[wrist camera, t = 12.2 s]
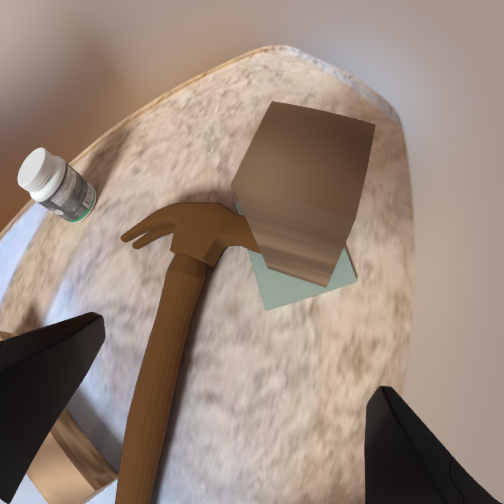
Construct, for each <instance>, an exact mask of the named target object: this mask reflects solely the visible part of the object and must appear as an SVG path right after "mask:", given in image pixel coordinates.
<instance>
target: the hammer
mask: <svg viewBox="0 0 504 504" xmlns="http://www.w3.org/2000/svg"><path fill="white" fill-rule="evenodd" d="M150 230H151V231H150ZM148 231H149V232H148ZM146 232H148V233H147V234H145V235H144V236H143V237H141V238H140V239H138V240H137V241H135V242H134V243H133V244H132V247H133V248H135V249H140V248H142V247H144V246H145V245H147V244H149V243H151V242H152V241H154V240H156V239H158V238H161V237H163V236H165V235H168V234H171V233H174V234H173V239H172V243H171V248H170V251H171V252H173V253H174V254H176V255H175V256H174V258H173V260H172V262H171V263H170V265H169V267H168V269H167V272H166V277H165V281H164V286H163V290H162V295H161V299H160V303H159V307H158V312H157V315H156V319H155V322H154V325H153V328H152V331H151V335H150V338H149V341H148V345H147V348H146V351H145V355H144V358H143V362H142V365H141V369H140V372H139V376H138V380H137V383H136V387H135V391H134V395H133V399H132V403H131V406H130V411H129V415H128V419H127V424H126V430H125V436H124V442H123V448H122V454H121V461H120V468H119V475H118V483H117V491H116V500H115V504H150V501H151V496H152V492H153V487H154V482H155V478H156V473H157V469H158V464H159V460H160V456H161V451H162V447H163V443H164V438H165V434H166V430H167V425H168V420H169V415H170V410H171V405H172V400H173V395H174V390H175V385H176V381H177V376H178V371H179V367H180V362H181V358H182V353H183V349H184V344H185V340H186V336H187V331H188V327H189V323H190V320H191V317H192V314H193V311H194V308H195V305H196V303H197V300H198V297H199V294H200V292H201V289H202V287H203V284H204V281H205V269H206V266H208V267H214V265H215V263H216V262H217V260H218V258H219V257H220V255H221V254H222V252H223V250H224V249H225V248H226V247H228V246H243V247H245V248H247V249H249V250H251V251H253V252H256V253H260V254H261V252H260V249H259V247H258V245H257V242H256V240H255V238H254V236H253V233H252V231H251V229H250V226H249V224H248V222H247V220H246V217H245V215H239V214H236V213H234V212H232V211H231V210H230V209H228V208H227V207H226V206H224V205H222V204H220V203H177V204H171V205H168V206H166V207H164V208H161V209H159V210H157V211H155V212H154V213H152V214H151V215H149V216H148V217H147V218H145V219H144V220H142V221H141V222H140V223H138V224H137V225H135V226H134V227H133V228H131V229H130V230H129V231H127V232H126V233H125V234H123V235H122V236H121V240H122V241H123V242H129V241H131V240H133V239H134V238H136V237H138V236H140V235H142V234H144V233H146Z"/></svg>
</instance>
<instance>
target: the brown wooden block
mask: <svg viewBox="0 0 504 504" xmlns="http://www.w3.org/2000/svg"><path fill="white" fill-rule="evenodd" d="M374 130H375V124H371V123H368V122H364V121H361V120H357V119H354V118H350V117H346V116H342V115H338V114H334V113H330V112H325V111H321V110H316V109H312V108H307V107H302V106H297V105H291V104H286V103H280V102H274V101H272V102H271V104H270V106H269V108H268V110H267V112H266V114H265V116H264V118H263V120H262V122H261V124H260V126H259V128H258V130H257V132H256V134H255V136H254V138H253V140H252V142H251V144H250V146H249V148H248V150H247V152H246V154H245V156H244V158H243V160H242V162H241V165H240V167H239V169H238V171H237V173H236V175H235V177H234V179H233V182H232V184H231V186H232V188H233V190H234V192H235V195H236V197H237V199H238V201H239V204H240V206H241V208H242V211H243V213H244V215H245V217H246V220H247V222H248V224H249V226H250V229H251V231H252V233H253V236H254V238H255V240H256V242H257V245H258V247H259V249H260V252H261V254H262V256H263V258H264V261H265V263H266V265H267V268H268V269H270V270H273V271H277V272H280V273H283V274H286V275H289V276H292V277H295V278H298V279H301V280H304V281H307V282H310V283H313V284H316V285H319V286H322V287H325V288H326V287H327V285H328V283H329V281H330V278H331V276H332V274H333V272H334V269H335V267H336V265H337V262H338V260H339V258H340V255H341V253H342V250H343V248H344V246H345V243H346V241H347V238H348V236H349V233H350V231H351V228H352V226H353V223H354V220H355V217H356V213H357V209H358V205H359V201H360V197H361V193H362V188H363V184H364V180H365V175H366V171H367V166H368V161H369V156H370V151H371V146H372V141H373V135H374Z"/></svg>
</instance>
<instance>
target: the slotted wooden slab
mask: <svg viewBox="0 0 504 504" xmlns="http://www.w3.org/2000/svg"><path fill="white" fill-rule="evenodd" d="M18 335H20V334H14V333H8V332H2V331H0V341H2V340H4V341H5V339H8V338H11V337H14V336H18ZM26 474H27V475H28V477H29V478H30V480H31V481H32V482H33V484H34V485H35V486H36V488H37V489H38V490H39V492H40V493H41V495H42V496H43V497H44V499H45V500H46V501H47V502H48V504H85V503H87V502H88V501H89V500H91V499H92V498H93V497H95V496H96V495H97V494H99V493H100V492H101V491H103V490H104V489H105V488H107V487H108V486H109V485H110V484H112V483H113V482H114V481H115V480H117V479H118V474H117V473H116V472H115V471H114V470H113V469H112V467H111V466H110V465H109V464H108V463H107V462H106V461H105V459H104V458H103V457H102V456H101V455H100V453H99V452H98V451H97V450H96V449H95V447H94V446H93V445H92V444H91V442H90V441H89V440H88V438H87V437H86V436H85V434H84V433H83V432H82V430H81V429H80V428H79V426H78V425H77V424H76V422H75V421H74V419H73V418H72V416H71V415H70V414H69V412H68V411H67V409H66V408H64V410H63V411H62V413H61V414H60V416H59V418H58V419H57V421H56V422H55V424H54V426H53V427H52V429H51V431H50V432H49V434H48V436H47V437H46V439H45V441H44V442H43V444H42V446H41V447H40V449H39V451H38V452H37V454H36V456H35V458H34V459H33V461H32V463H31V465H30V467H29V469H28V471H27V472H26Z"/></svg>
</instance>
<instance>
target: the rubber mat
mask: <svg viewBox="0 0 504 504" xmlns="http://www.w3.org/2000/svg"><path fill="white" fill-rule="evenodd" d="M235 204H236V208H237V212H238V214H239V215H244V213H243V211H242V208H241V206H240V204H239V201H238V202H235ZM248 251H249V254H250V258H251V261H252V265H253V269H254V272H255V276H256V279H257V283H258V286H259V290H260V293H261V297H262V301H263V304H264V308H265V310H266V311H267V310H270V309H274V308H277V307H280V306H284V305H287V304H290V303H294V302H297V301H300V300H303V299H306V298H310V297H313V296H316V295H319V294H322V293H325V292H328V291H331V290H334V289H337V288H340V287H343V286H346V285H349V284H352V283H355V282H357V280H356V277H355V274H354V271H353V268H352V266H351V263H350V260H349V257H348V255H347V252H346V249H345V247H344V248H343V250H342V253H341V255H340V258H339V260H338V262H337V265H336V267H335V269H334V272H333V274H332V276H331V278H330V281H329V283H328V285H327V287H326V288H325V287H322V286H319V285H316V284H313V283H310V282H307V281H304V280H301V279H298V278H295V277H292V276H289V275H286V274H283V273H280V272H277V271H273V270H270V269H268V268H267V265H266V263H265V261H264V258H263V256H262V254H260V253H256V252H253V251H251V250H249V249H248Z"/></svg>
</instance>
